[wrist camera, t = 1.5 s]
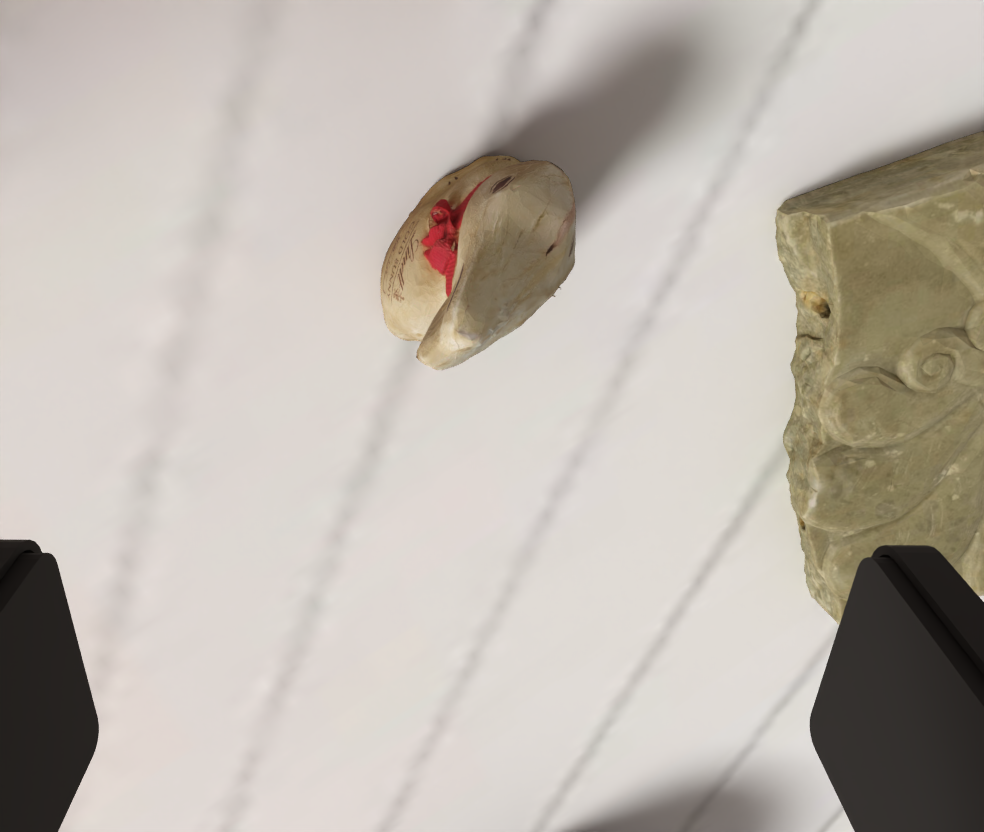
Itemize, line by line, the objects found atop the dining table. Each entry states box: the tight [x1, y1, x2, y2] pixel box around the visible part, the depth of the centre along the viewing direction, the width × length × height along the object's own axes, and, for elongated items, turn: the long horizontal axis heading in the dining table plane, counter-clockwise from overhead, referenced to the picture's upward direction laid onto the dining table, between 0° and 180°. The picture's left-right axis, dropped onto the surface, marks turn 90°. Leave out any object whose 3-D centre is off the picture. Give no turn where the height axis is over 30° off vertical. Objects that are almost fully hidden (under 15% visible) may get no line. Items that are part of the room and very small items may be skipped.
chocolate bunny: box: [381, 156, 576, 370], centre depth 25 cm, size 6×8×10 cm
